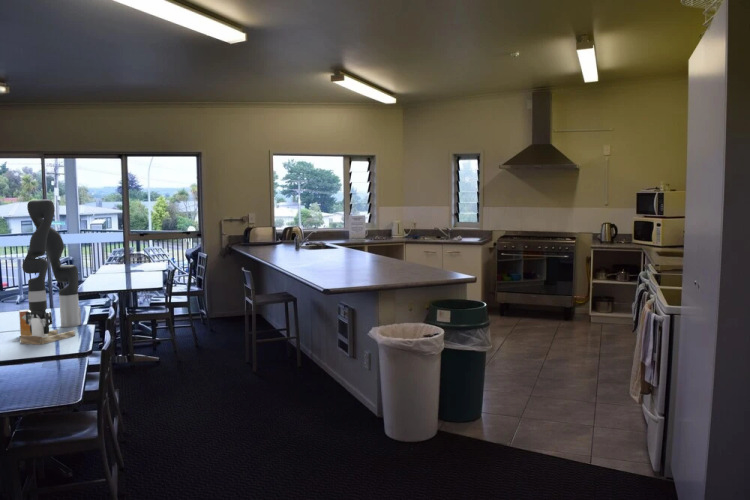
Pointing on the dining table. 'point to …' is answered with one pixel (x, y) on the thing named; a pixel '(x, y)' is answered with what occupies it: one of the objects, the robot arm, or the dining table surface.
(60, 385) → the dining table surface
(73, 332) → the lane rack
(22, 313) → the small box
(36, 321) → the white carton
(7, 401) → the dining table surface
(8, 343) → the dining table surface
